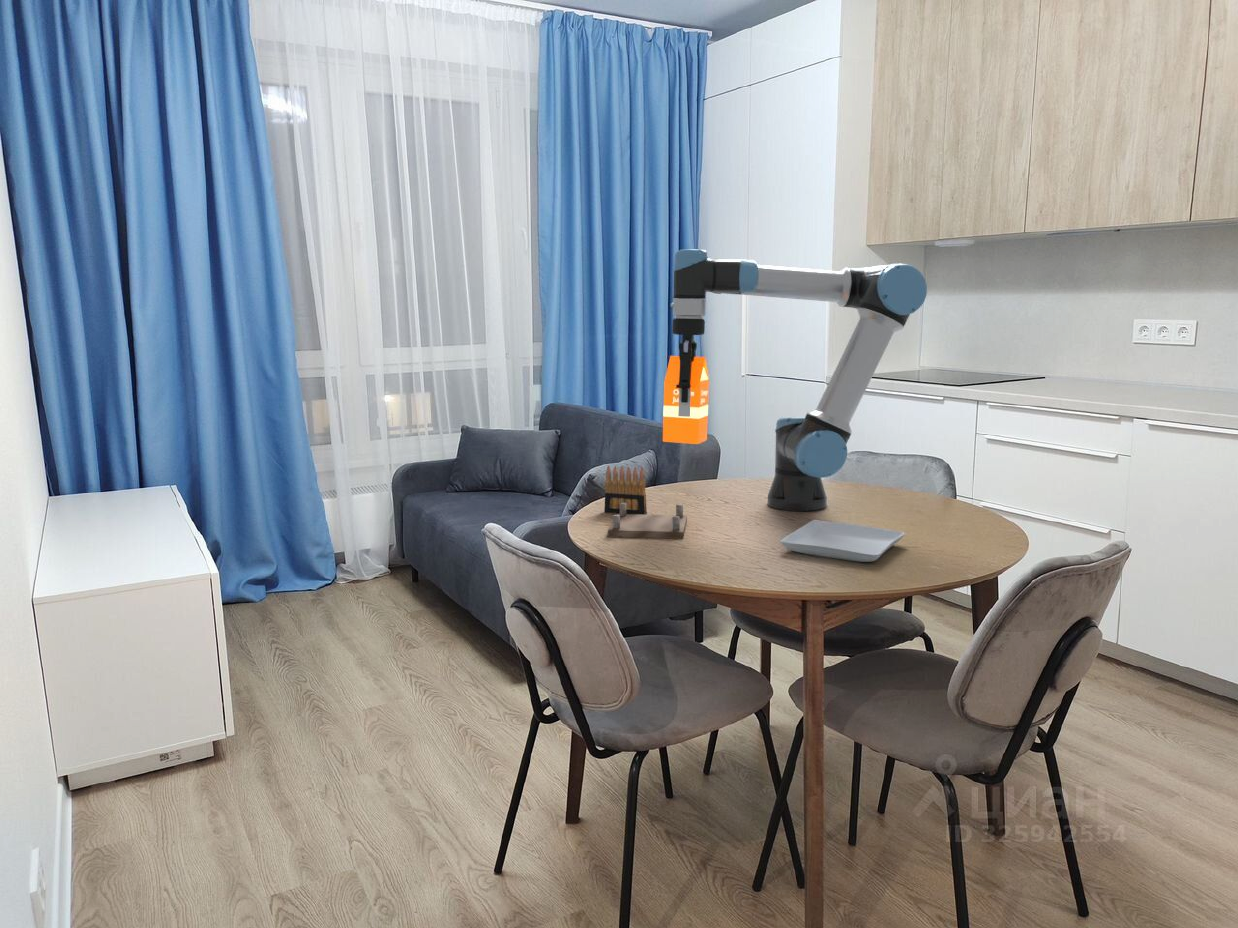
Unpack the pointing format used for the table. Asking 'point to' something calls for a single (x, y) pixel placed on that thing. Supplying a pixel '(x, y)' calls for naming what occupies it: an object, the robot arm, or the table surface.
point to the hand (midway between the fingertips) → (685, 413)
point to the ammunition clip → (633, 495)
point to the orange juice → (696, 424)
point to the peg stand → (648, 524)
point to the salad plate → (841, 540)
